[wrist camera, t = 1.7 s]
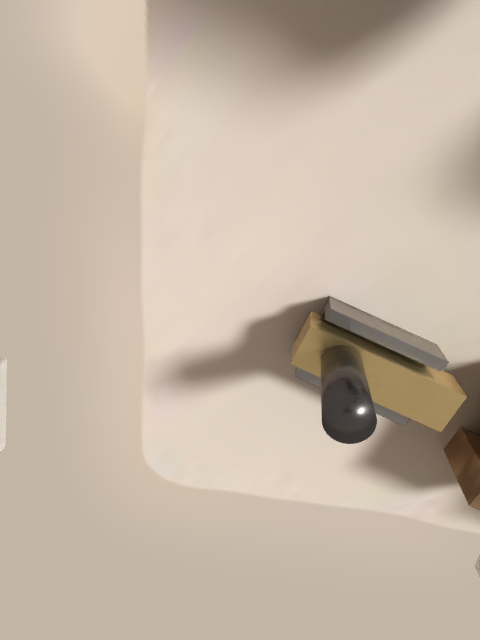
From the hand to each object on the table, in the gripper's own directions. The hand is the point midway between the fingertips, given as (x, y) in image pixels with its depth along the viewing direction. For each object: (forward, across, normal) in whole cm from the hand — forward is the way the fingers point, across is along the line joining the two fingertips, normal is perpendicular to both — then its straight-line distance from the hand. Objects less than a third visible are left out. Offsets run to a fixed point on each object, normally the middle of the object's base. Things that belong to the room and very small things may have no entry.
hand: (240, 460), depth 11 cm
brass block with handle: (+26, +9, -6) cm, 28 cm away
